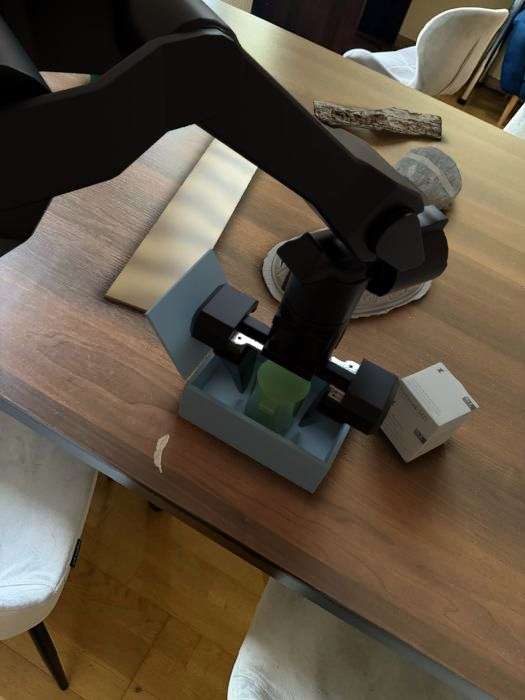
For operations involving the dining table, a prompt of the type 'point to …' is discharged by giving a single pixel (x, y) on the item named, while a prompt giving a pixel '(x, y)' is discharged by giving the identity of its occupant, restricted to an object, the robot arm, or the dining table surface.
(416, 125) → the driftwood
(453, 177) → the decorative stone
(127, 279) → the board
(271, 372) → the pot
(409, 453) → the white cardboard box
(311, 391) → the carton
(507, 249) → the dining table surface
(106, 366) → the dining table surface
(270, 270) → the turtle shell
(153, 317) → the flap
